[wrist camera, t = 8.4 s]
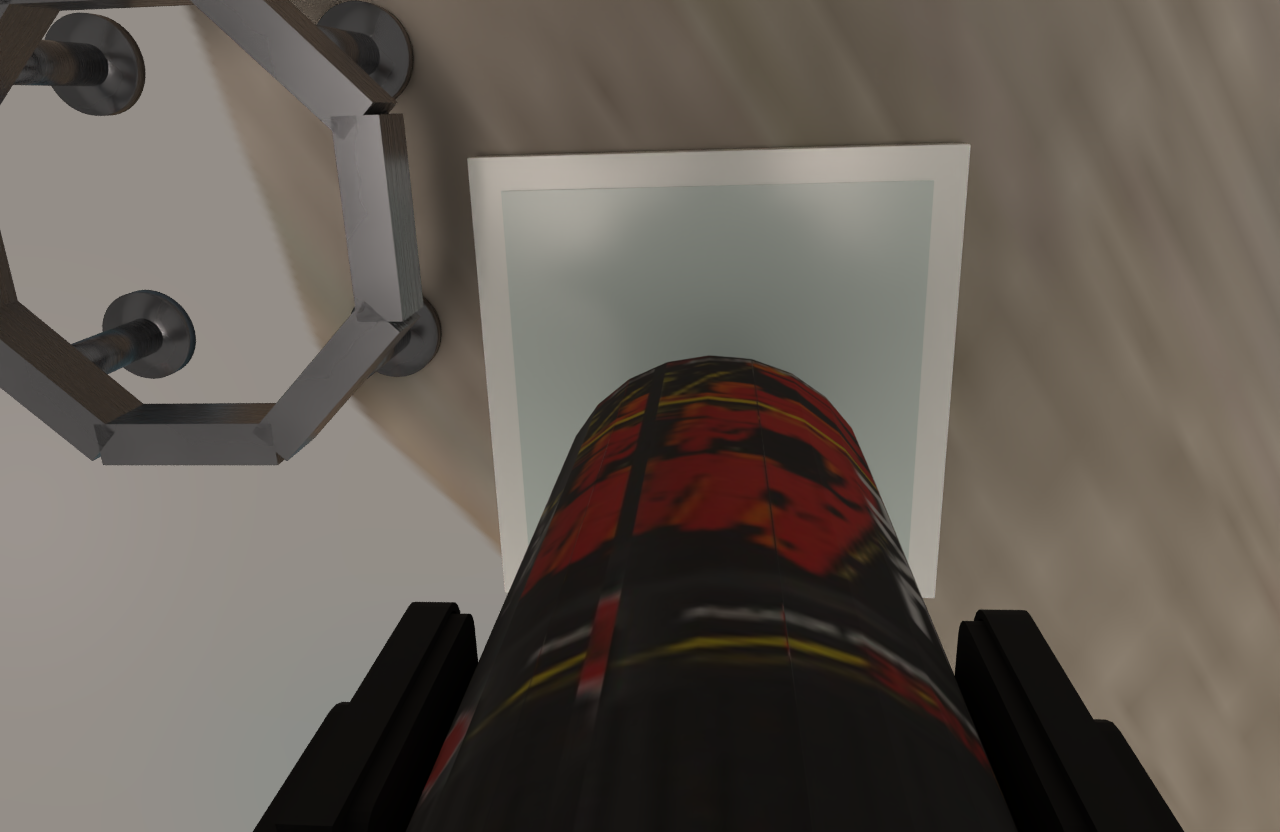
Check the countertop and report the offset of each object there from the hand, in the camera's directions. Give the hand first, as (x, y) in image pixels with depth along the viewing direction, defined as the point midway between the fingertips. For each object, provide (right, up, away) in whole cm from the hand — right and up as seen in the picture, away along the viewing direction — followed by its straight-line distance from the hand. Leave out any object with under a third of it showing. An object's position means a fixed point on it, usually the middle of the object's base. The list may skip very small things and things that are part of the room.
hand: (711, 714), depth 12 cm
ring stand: (-11, +9, +13) cm, 19 cm away
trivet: (+1, +5, +13) cm, 14 cm away
